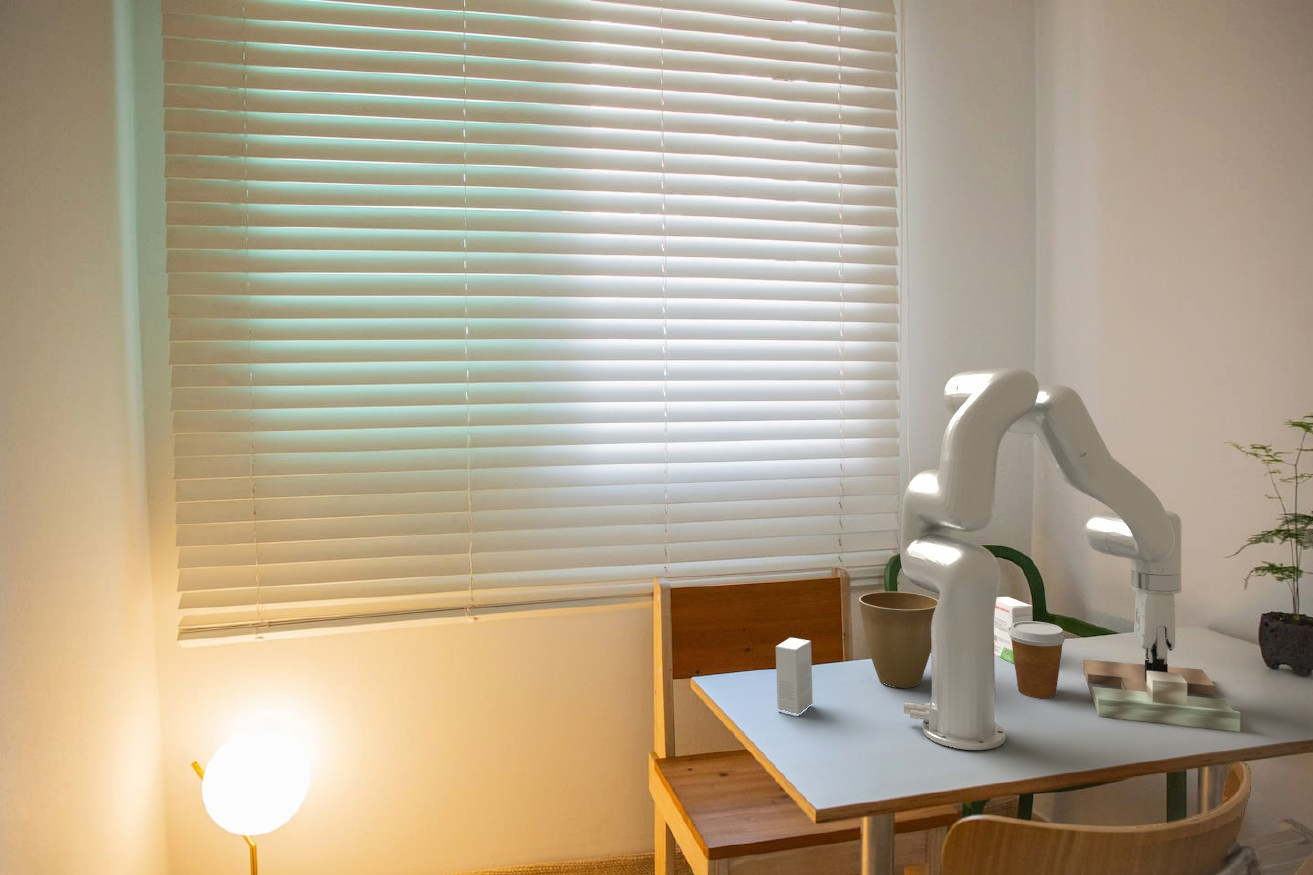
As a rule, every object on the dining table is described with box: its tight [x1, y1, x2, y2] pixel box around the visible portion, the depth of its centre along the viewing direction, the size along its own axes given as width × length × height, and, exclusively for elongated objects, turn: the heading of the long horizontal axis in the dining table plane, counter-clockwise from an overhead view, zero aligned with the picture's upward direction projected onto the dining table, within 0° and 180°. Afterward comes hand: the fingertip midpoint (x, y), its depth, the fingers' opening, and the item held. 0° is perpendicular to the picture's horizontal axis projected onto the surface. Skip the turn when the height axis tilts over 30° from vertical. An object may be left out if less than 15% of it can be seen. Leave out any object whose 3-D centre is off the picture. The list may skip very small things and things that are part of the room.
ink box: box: [994, 596, 1034, 665], centre depth 169 cm, size 9×5×12 cm, turn 11°
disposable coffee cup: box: [1008, 621, 1067, 699], centre depth 149 cm, size 10×10×12 cm
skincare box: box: [775, 637, 814, 714], centre depth 144 cm, size 6×4×12 cm
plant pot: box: [858, 591, 939, 689], centre depth 156 cm, size 15×15×16 cm
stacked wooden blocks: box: [1082, 658, 1241, 733], centre depth 145 cm, size 20×25×3 cm
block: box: [1147, 671, 1187, 706], centre depth 138 cm, size 5×5×4 cm
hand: (1156, 683), depth 143 cm, fingers closed
